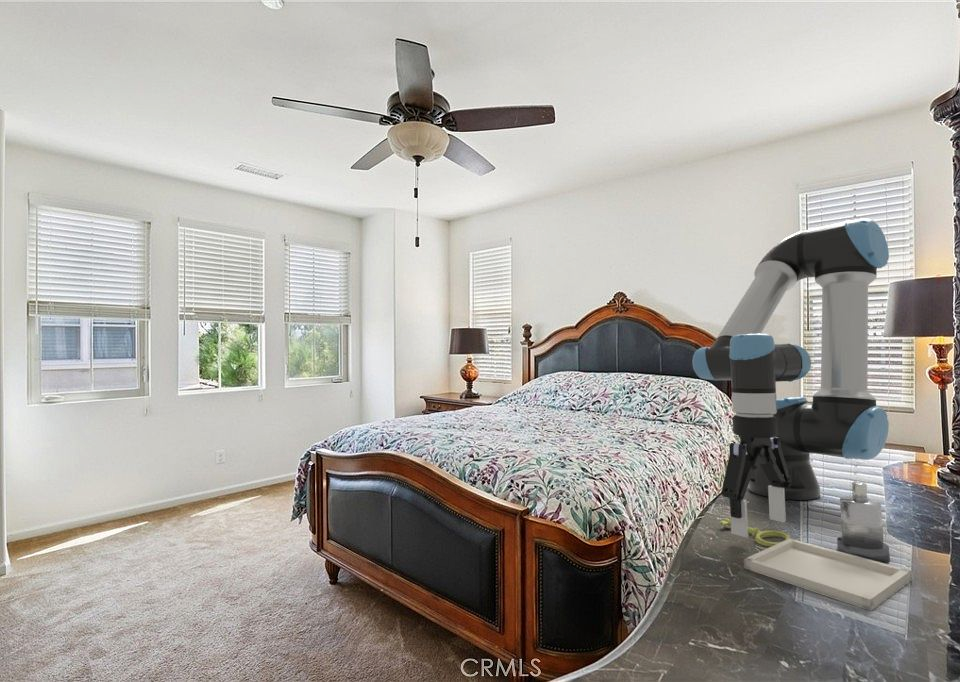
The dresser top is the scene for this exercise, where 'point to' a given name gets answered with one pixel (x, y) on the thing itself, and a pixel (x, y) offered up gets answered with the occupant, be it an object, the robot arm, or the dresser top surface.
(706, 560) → the dresser top surface
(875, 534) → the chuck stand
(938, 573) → the dresser top surface
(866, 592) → the tray
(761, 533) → the key
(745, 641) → the dresser top surface
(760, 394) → the robot arm
